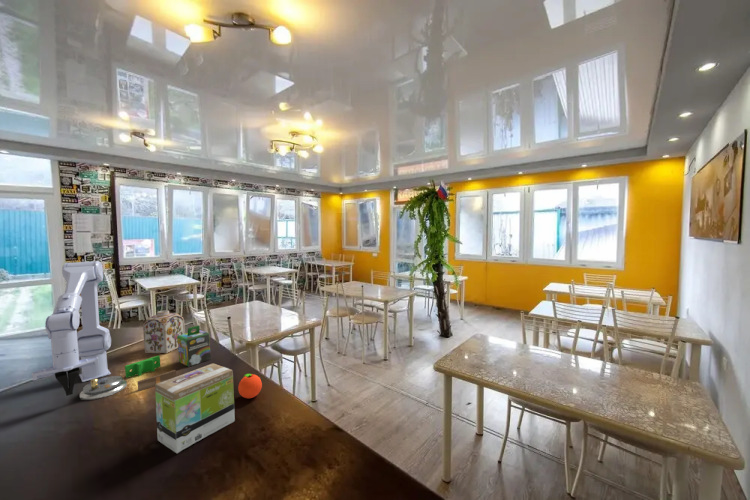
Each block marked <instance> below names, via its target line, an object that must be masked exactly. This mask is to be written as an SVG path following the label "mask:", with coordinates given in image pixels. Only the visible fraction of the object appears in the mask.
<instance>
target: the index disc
mask: <svg viewBox="0 0 750 500" xmlns="http://www.w3.org/2000/svg"><path fill="white" fill-rule="evenodd" d="M123 380H124V379H123V376H121V375H114V376H113V375H112V376H105V377H101V378H95V379H92V380H90V382H88V383H87V384H86V385H84V386H83V388H82V391H83V390H84V394H87V395H91V394H98V393H103V392H106V391H109V390H112V389H114V388H116V387H118V386H120V385H121V384H122V383H123Z"/></svg>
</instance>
